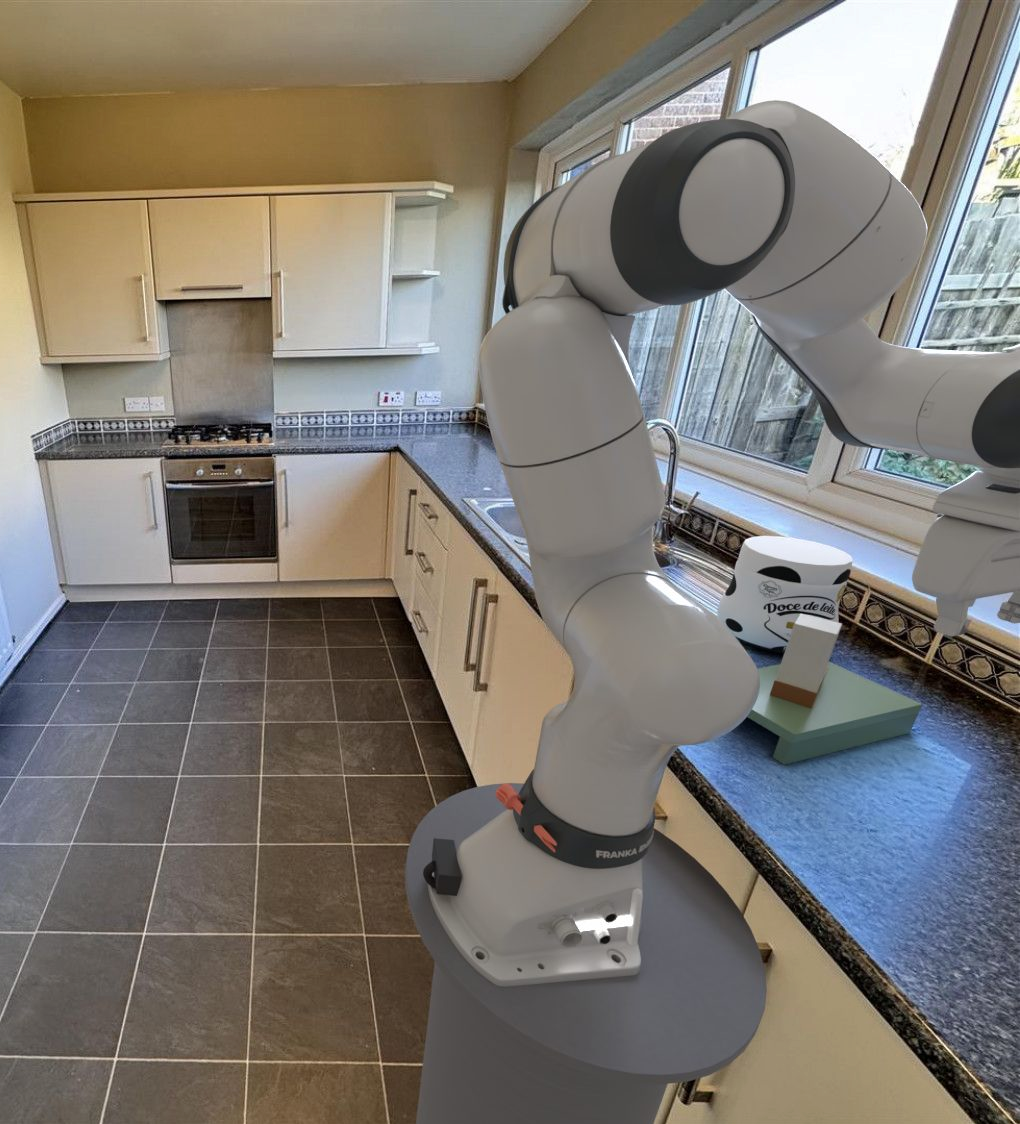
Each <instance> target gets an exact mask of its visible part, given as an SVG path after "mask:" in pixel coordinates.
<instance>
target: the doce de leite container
mask: <svg viewBox="0 0 1020 1124" xmlns="http://www.w3.org/2000/svg"><path fill="white" fill-rule="evenodd" d="M852 565H853V557H852V555H850V554H849V553H848V552H846V551H844V550H842V549H840V548H836V547H835V546H832V545H828V544H826V543H825V544H824V543H821V542H817V541H813V540H809V539H808V540H807V539H802V538H797V537H789V536H781V535H780V536H779V535H778V536H777V535H759V536H751V537H748V538H746V539H745V540H744V541H743V543H742V546H741V548H740V551H739V554H738V558H737V560H736V562H735V565H734V571H733V575H732V579H731V581H730V584H729V585H728V587H727V588H726V590H725V592H724V593H723V594H722V596H721V598H720V600H719V602H718V606H717V612H716V613H717V615H716V616H717V617H718V618H719V619H721V620H722V621H723V622H724V624H725V625H726V626H727V627H728V628H729V630H730V631H731V632H732V633H733V635H734V636H735V637H736V638H737V640H738V641H739V642H740V643H741V642H742V643H744V644H746V645H748V646H751V647H755V648H757V649H761V650H764V651H768V652H773V653H779V654H783V655H784V653H785V650H786V647H787V644H788V641H789V638H790V635H791V632H792V629H793V626H794V623H795V622H796V620H797V618H798V617H799V615H800V614H805V615H809V616H813V617H817V618H821V619H825V620H829V621H834V622H838V623H840V622H839V607H840V602H841V600H842V596H843V594H844V592H845V590H846V587H847V585H848V580H849V578H850V575H851V571H852V568H853V566H852Z"/></svg>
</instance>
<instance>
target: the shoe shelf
mask: <svg viewBox="0 0 1020 1124" xmlns="http://www.w3.org/2000/svg"><path fill="white" fill-rule="evenodd" d="M780 665H781V663H779V664H773V665H767V666H764V667H757V669H758V672H759V677H760V690H759V694H758V698H757V700H756V703H755V705H754V707H753V708H752V710H751V712H750V713H749V715H748V716H747V717H746V718H748V719H750V720H752V721H753V722H755V723H756V724H758V725H760V726H761V727H763V728H765V729H767V730H768V731H769V732H772V733H773V734H775V735H777V736H778V737H779V738H778V741H777V744H776V746H775V750H774V752H773V755H772V758H773V759H774V760H776V761H777V762H779V763H781V765H784V766H785V765H788V764H792V763H796V762H800V761H804V760H809V759H812V758H816V757H817V758H818V757H821V756H825V755H828V754H832V753H837V752H840V751H845V750H849V749H852V748H856V747H859V746H864V745H868V744H872V743H877V742H880V741H885V740H888V739H892V738H895V737H899V736H904V735H908V734H911V731H912V729H913V727H914V724H915V723H916V720H917V719H918V716H919V714H920V711H921V709H922V706H923V703H921V702H919V701H916V700H914V699H912V698H910V697H908V696H906V695H904V694H901V693H899V692H898V691H895V690H894V689H890V688H889V687H886V686H884V685H881V684H879V683H877V682H876V681H873V680H871V679H869V678H866V677H864V676H862V675H860V674H857V673H855V672H853V671H851V670H848V669H847V668H844V667H842V666H840V665H837V664H836V663H833V662H831V661H829V662H828V665H827V667H828V670H827V673H826V676H825V678H824V681H823V684H822V686H821V688H820V691H819V693H818V695H817V697H816V700H815V702H814V704H813V707H812V709H811V708H808V707H805V706H802V705H799V704H795V703H792V702H789V701H786V700H783V699H780V698H777V697H774V696H771V695H770V692H771V689H772V686H773V683H774V680H775V679H776V677H777V674H778V671H779V668H780Z"/></svg>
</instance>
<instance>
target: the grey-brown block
mask: <svg viewBox="0 0 1020 1124" xmlns="http://www.w3.org/2000/svg"><path fill="white" fill-rule="evenodd" d="M842 626H843V623H842V622H834V621H829V620H825V619H821V618H817V617H813V616H809V615H805V614H800V615H799V617H798V618H797V620H796V622H795V623H794V626H793V629H792V632H791V635H790V638H789V641H788V644H787V647H786V650H785V653H784V654H783V656H782V660H781V663H780V664H781V665H780V668H779V671H778V674H777V677H776V679H775V680H774V683H773V686H772V689H771V692H770V695H771V696H774V697H777V698H780V699H783V700H786V701H789V702H792V703H795V704H799V705H802V706H805V707H808V708H811V709H812V707H813V704H814V702H815V700H816V697H817V695H818V693H819V691H820V688H821V686H822V684H823V681H824V678H825V676H826V673H827V670H828V667H827V665H828V662H830V660H831V657H832V654H833V650H834V648H835V646H836V643H837V641H838V637H839V634H840V632H841V629H842Z"/></svg>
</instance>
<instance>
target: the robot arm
mask: <svg viewBox="0 0 1020 1124" xmlns="http://www.w3.org/2000/svg"><path fill="white" fill-rule="evenodd" d="M927 235H928V225H927V221H926V218H925V216H924V213H923V210H922V208H921V206H920V203H918V201H917V199H916V198H915V196H914V194H912V192H911V191H910V190H909V188H908V187H906V186H905V184H904V183H902V181H900V180H899V178H897V176H895V174H893V173H892V172H891V171H890V170H889V168H887V167H886V166H885V164H883V162H881V161H880V159H878V158H877V157H876V156H875V155H874V154H873V153H872V152H871V151H870V150H868V149H867V148H866V147H865V146H863V145H862V144H861V143H860V142H859V141H857V140H856V139H855V138H854V137H852V136H850V135H849V134H848V133H846V132H844V131H843V130H842V129H840V128H839V127H838V126H837V125H835V124H833V123H831V122H829V121H827V119H824V118H822V117H821V116H820V115H818V114H815V113H814V112H812V111H810V110H808V109H806V108H804V107H802V106H799V105H798V104H795V103H794V102H790V101H788V100H775V99H774V100H764V101H761V102H756V103H753V104H750V105H749V106H746V107H743V108H742V109H739V110H738V111H736V112H734V113H733V114H731V115H729V116H727V117H726V118H719V119H710V120H709V119H708V120H703V121H698V122H694V123H690V124H687V125H684V126H680V127H677V128H674V129H672V130H669V131H668V132H665V133H663V134H662V135H660V136H659V137H657V138H656V139H654V140H653V141H651V142H648V143H644V144H642V145H640V146H637V147H634V148H633V149H629V150H627V151H625V152H623V153H620V154H619V153H618V154H615V155H614V154H613V155H612V156H609V157H606V158H604V159H602V160H600V161H598V162H596V163H594V164H592V165H590V166H589V167H587V168H586V169H584V170H582V171H580V172H579V173H577V174H576V175H574V176H573V177H572V178H571V179H569V180H567V181H566V182H565V183H563V184H561V185H559V186H557V187H555V188H552V189H550V190H549V191H547V192H546V193H544V194H543V195H542V196H540V197H539V198H538V199H537V200H535V202H534V203H532V204H531V206H529V207H528V208H527V209H526V211H525V212H524V213H523V214H522V215H521V216H520V218H519V219H518V220H517V223H516V224H515V225H514V227H513V229H512V230H511V233H510V234H509V237H508V239H507V240H508V241H507V243H506V246H505V251H504V258H503V283H504V284H503V285H504V289H503V294H502V301H501V304H502V308H503V311H504V313H505V315H503V316H502V317H501V318H500V319H499V320H498V321H496V323H495V324H494V325H493V326H492V327H491V328H490V329H489V330H488V331H487V333H486V335H485V336H484V337H483V340H482V342H481V344H480V347H479V350H478V370H479V379H480V387H481V394H482V400H483V405H484V410H485V414H486V415H485V416H486V420H487V425H488V427H489V430H490V435H491V439H492V442H493V446H494V449H495V452H496V455H497V459H498V461H499V464H500V466H501V467H500V468H501V469H502V472H503V476H504V478H505V482H506V484H507V487H508V491H509V493H510V496H511V499H512V502H513V506H514V507H515V511H516V513H517V516H518V519H519V523H520V525H521V528H522V532H523V534H524V537H525V542H526V546H527V550H528V551H527V552H528V557H529V563H530V570H531V576H532V581H533V592H534V596H535V600H536V604H537V606H538V610H539V612H540V615H541V618H542V621H543V623H544V625H545V627H546V629H547V630H548V631H549V632H550V634H551V635H552V636H553V638H554V639H555V640H556V642H557V643H558V644H559V645H560V647H561V648H562V649H563V651H564V652H565V654H566V655H567V656H568V657H569V659H570V662H571V665H572V670H573V675H574V684H573V689H572V692H571V694H570V695H569V699H568V701H563V702H561V703H559V704H557V705H555V706H553V707H552V708H550V709H549V711H547V713H545V715H544V717H543V720H542V722H541V728H540V733H539V739H538V744H537V749H536V755H535V761H534V768H533V769H532V770H531V771H530V773H529V775H528V777H526V780H525V781H524V785H523V787H522V788H521V790H520V792H519V794H517V793H516V792H515V790H514V789H513V787H512V786H511V785H510V784H504V783H502V784H503V785H501V786H500V787H499V788H498V789H497V790H496V791H497V792H496V793H495V794H496V797H497V798H498V799H499V800H500V801H501V802H502V803H503V804H504V806H505V808H506V809H507V810H505V811H504V812H502V813H501V814H499V815H498V816H497V817H495V818H494V819H493V820H491V821H490V822H488V823H487V824H486V825H484V826H483V827H482V828H480V829H479V830H478V831H476V832H475V833H473V834H472V835H471V836H469V837H468V838H466V839H465V840H464V841H463V842H462V843H461V844H460V845H459V847H458V849H457V851H456V847H455V841H454V840H449V839H437V838H434V839H433V849H432V861H431V862H430V863H429V864H428V865H426V867H425V868H424V871H423V876H424V878H425V880H426V882H427V883H428V892H429V896H430V900H431V903H432V906H433V908H434V910H435V913H436V915H437V917H438V919H439V921H440V923H441V924H442V926H443V928H444V930H445V931H446V933H447V935H448V936H449V938H450V939H451V941H452V943H453V944H454V945H455V947H456V948H457V949H458V951H459V952H460V953H461V955H462V956H463V957H464V958H465V959H466V961H467V962H468V963H469V964H470V965H471V966H472V967H473V968H474V969H475V970H476V971H477V972H479V973H480V974H481V975H482V976H483V977H485V978H486V979H487V980H489V981H490V982H492V983H493V984H495V985H497V986H501V987H508V986H520V985H531V984H543V983H554V982H565V981H576V980H587V979H598V978H610V977H621V976H632V975H636V974H638V973H639V972H640V967H641V955H640V950H639V946H638V937H639V935H640V932H641V927H642V916H641V909H642V899H643V871H642V859H643V857H644V855H645V854H646V853H647V851H648V849H649V845H650V842H651V841H652V838H653V835H654V831H653V829H654V828H655V823H656V812H655V805H656V801H657V797H658V794H659V791H660V787H661V784H662V780H663V777H664V774H665V772H666V771H665V770H666V768H667V766H668V763H669V762H670V760H671V757H672V756H673V755H674V753H675V752H676V751H677V749H679V748H680V746H683V747H684V746H694V745H699V744H705V743H709V742H712V741H714V740H717V739H719V738H721V737H724V736H726V735H727V734H729V733H731V732H732V731H733V730H735V729H736V728H737V727H738V726H739V725H740V724H742V723H743V722H744V721H745V720H746V719H747V718H748V717H747V716H748V715H749V713H750V712H751V710H752V708H753V707H754V705H755V703H756V700H757V698H758V694H759V690H760V677H759V672H758V667H757V665H756V663H755V661H754V660H753V659H752V657H751V655H749V653H748V652H747V650H746V649H745V648H744V646H743V644H742V643H741V641H739V640H737V638H736V637H735V636H734V635H733V633H732V632H731V631H730V630H729V628H728V627H727V626H726V625H725V624H724V622H723V621H722V620H721V619H719V618H718V617H717V615H716V614H714V613H713V612H712V611H710V610H709V609H707V608H706V607H705V606H704V605H702V604H701V603H700V602H698V601H696V600H695V599H694V598H693V597H691V596H690V595H688V594H687V593H686V592H685V591H683V590H682V589H680V588H679V587H678V586H677V585H676V584H675V583H673V582H672V581H671V580H670V578H668V575H666V574H665V572H664V570H663V569H662V568H661V566H660V564H659V562H658V559H657V557H656V555H655V554H656V553H655V550H654V549H655V548H654V527H655V526H654V525H656V523H657V522H658V521H659V519H660V518H661V517H662V514H663V513H664V510H665V506H666V492H665V489H664V485H663V481H662V478H661V474H660V470H659V466H658V462H657V458H656V454H655V450H654V446H653V443H652V439H651V435H650V432H649V428H648V425H647V420H646V415H645V412H644V409H643V406H642V401H641V398H640V395H639V391H638V388H637V385H636V382H635V379H634V378H633V375H632V374H633V373H632V371H631V369H630V360H629V348H630V341H631V340H630V339H631V334H632V329H633V326H634V323H635V320H636V316H635V315H637V314H641V313H645V312H649V311H654V310H657V309H661V308H664V307H668V306H682V305H687V304H691V303H695V302H697V301H700V300H703V299H705V298H709V297H710V296H712V295H715V294H717V293H719V292H721V291H726V292H727V294H729V295H730V296H731V297H732V298H734V300H735V301H737V302H738V303H739V304H740V305H741V306H742V307H744V308H745V309H746V310H747V311H748V312H749V313H750V315H751V318H752V321H753V322H754V324H755V326H756V328H757V330H758V331H759V332H760V334H761V335H762V336H763V338H764V339H765V340H766V341H767V343H768V344H770V346H771V347H772V348H773V349H774V350H775V352H777V354H778V355H779V356H780V358H782V359H783V360H784V361H785V362H786V363H787V365H788V366H789V367H790V368H791V369H792V370H793V371H794V372H795V373H796V374H797V375H798V377H800V378H801V380H802V381H803V382H804V383H805V384H806V385H807V387H808V388H809V389H810V390H811V391H812V393H813V394H814V396H815V398H816V400H817V402H818V405H819V407H820V411H821V414H822V416H823V419H824V422H825V424H826V427H827V429H828V430H829V432H830V433H831V434H832V435H833V437H835V438H836V439H837V440H838V441H840V442H842V443H843V444H844V445H845V444H846V445H849V446H852V447H857V448H869V449H875V450H886V451H888V450H890V451H895V452H899V453H905V454H910V455H913V456H914V455H916V456H920V457H925V458H930V459H936V460H941V461H948V462H952V463H958V464H963V465H968V466H973V467H974V466H975V467H979V469H978V470H975V471H974V472H972V473H971V474H970V475H968V476H967V477H966V478H965V479H962V480H961V481H959V482H958V483H956V484H953V485H952V486H950V487H948V488H945V489H943V490H942V491H940V492H939V493H938V494H937V496H936V498H935V499H934V502H933V506H932V512H933V513H936V514H940V515H941V516H939V517H937V518H936V519H935V520H934V521H933V522H932V524H930V527H929V528H928V530H927V532H926V533H925V536H924V539H923V542H922V544H921V546H920V550H919V553H918V555H917V558H916V561H915V564H914V567H913V571H912V574H911V581H912V585H913V588H914V590H915V591H916V592H919V593H922V594H924V595H928V596H930V597H933V598H935V604H936V610H937V617H936V620H935V622H934V625H933V630H934V631H935V632H936V633H939V634H942V635H945V636H947V637H957V636H960V635H962V636H963V635H964V634H966V633H967V632H968V628H969V626H970V624H971V622H972V619H969V618H968V611H969V608H971V607H973V606H974V605H975V603H976V600H978V599H982V598H989V597H994V596H1000V595H1005V594H1010V593H1011V596H1010V597H1009V598H1008V600H1006V601H1005V602H1004V601H1003V602H1002V603H1001V604H1000V607H999V610H998V612H997V614H996V615H997V618H998V619H1000V620H1002V621H1005V622H1008V623H1011V624H1020V343H1019V344H1016V345H1014V346H1010V347H1006V348H1003V349H1002V351H973V350H972V351H971V350H952V349H951V350H948V349H947V350H946V349H929V348H918V347H912V346H902V345H897V344H896V345H895V344H891V343H888V342H885V341H884V340H881V338H880V337H879V336H878V335H877V334H876V332H875V331H874V330H873V328H871V326H870V325H869V324H868V323H867V321H866V320H865V318H866V317H867V316H869V315H871V314H872V313H873V312H875V311H876V310H877V309H878V308H880V307H881V306H882V305H883V304H885V302H887V301H888V300H889V299H890V298H891V297H892V296H893V295H894V294H896V292H897V291H898V290H899V289H900V288H901V286H902V285H903V284H904V283H905V282H906V281H907V279H908V278H909V276H910V275H911V274H912V272H914V269H915V268H916V266H917V264H918V262H919V260H920V257H921V255H922V253H923V250H924V247H925V245H926V239H927ZM510 307H511V309H512V310H510ZM477 956H479V957H481V958H482V959H483V960H480V959H478V958H477ZM612 959H613V960H616V961H617V962H618V963H616V962H614V961H613V960H612Z"/></svg>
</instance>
